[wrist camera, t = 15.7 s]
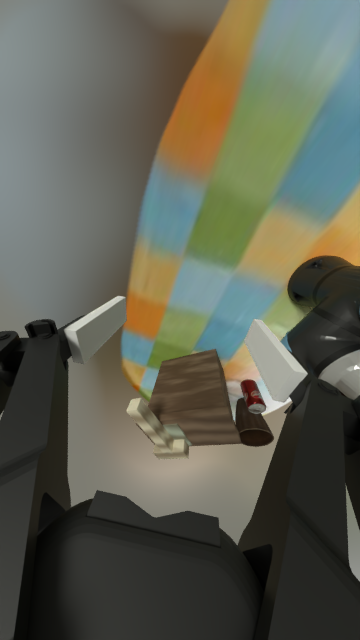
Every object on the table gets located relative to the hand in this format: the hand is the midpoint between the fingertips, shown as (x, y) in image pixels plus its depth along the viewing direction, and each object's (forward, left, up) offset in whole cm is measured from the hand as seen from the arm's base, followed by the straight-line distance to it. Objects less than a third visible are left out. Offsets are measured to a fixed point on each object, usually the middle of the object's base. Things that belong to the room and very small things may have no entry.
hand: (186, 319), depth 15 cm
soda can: (-35, +48, -37) cm, 70 cm away
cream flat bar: (+3, +40, -8) cm, 41 cm away
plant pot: (-38, +62, -37) cm, 82 cm away
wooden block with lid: (-6, +42, -37) cm, 56 cm away
